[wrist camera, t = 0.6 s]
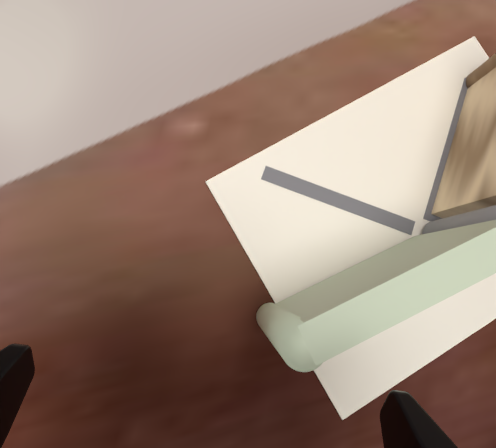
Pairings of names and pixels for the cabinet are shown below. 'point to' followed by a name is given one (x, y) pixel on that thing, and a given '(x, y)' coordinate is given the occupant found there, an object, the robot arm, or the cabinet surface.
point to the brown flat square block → (472, 149)
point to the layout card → (361, 214)
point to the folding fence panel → (382, 290)
